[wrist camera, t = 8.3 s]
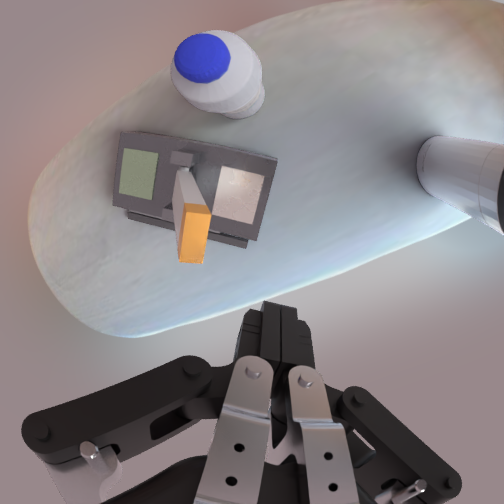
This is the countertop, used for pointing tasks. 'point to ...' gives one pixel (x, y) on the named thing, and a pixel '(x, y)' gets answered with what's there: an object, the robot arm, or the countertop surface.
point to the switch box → (205, 175)
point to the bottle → (219, 74)
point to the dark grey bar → (170, 225)
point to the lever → (189, 217)
